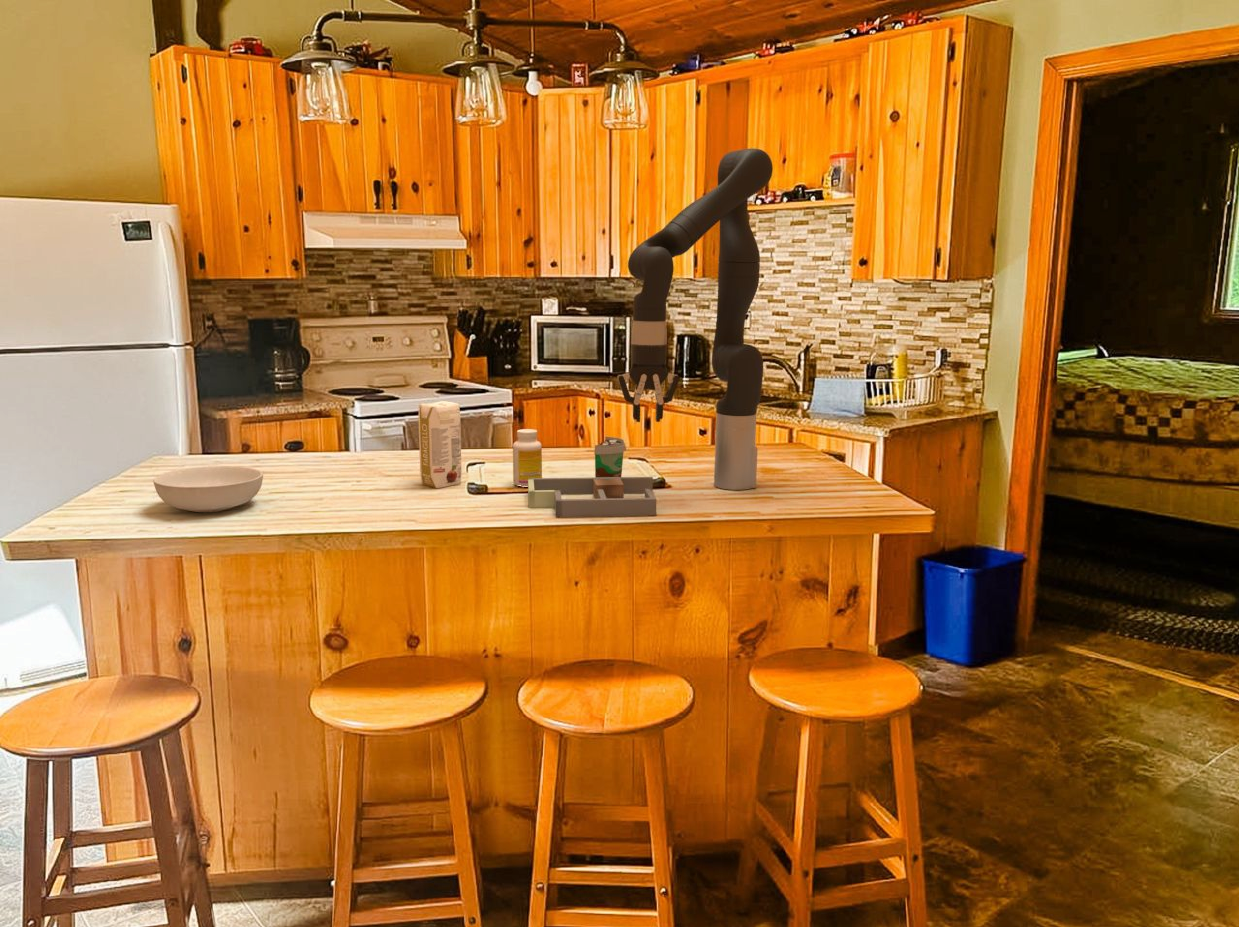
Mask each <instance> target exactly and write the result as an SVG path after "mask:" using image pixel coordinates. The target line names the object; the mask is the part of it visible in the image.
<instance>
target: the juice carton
mask: <svg viewBox="0 0 1239 927" xmlns="http://www.w3.org/2000/svg"><path fill="white" fill-rule="evenodd" d="M460 410H461V409H460V403H457V402H452V401H445V400H440V401H436V402H432V403H427V402H426V403H418V416H417V417H418V439H419V440H418V443H419V445H418V446H419V474H420V481H421V484H422V485H424V486H428V487H431V488H435V489H441V488H447V487H450V486H457V485H460V484H461V483H462V440H461V439H462V437H461V435H462V434H461V433H462V432H461V411H460Z"/></svg>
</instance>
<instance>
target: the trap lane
mask: <svg viewBox="0 0 1239 927" xmlns="http://www.w3.org/2000/svg"><path fill="white" fill-rule="evenodd" d="M593 479H621V481H622V483H623V484H624V494H644V497H632V498H631V497H627V498H625V497H624V498H610V499H607V498H606V496H605V493H604V491H603V489H598V490H597V499H594V498H562V495H587V494H588V495H593ZM653 480H654V478H653V476H621V477H595V476H594V477H591V476H590V477H542V478H528V488H527V493H528V494H527V495H528V497H527V498H528V508H529V509H548V508H553V509H554V512H555V517H556V518H592V517H593V518H598V517H599V518H601V517H602V518H605V517H606V518H607V517H608V518H611V517H648V516H647V515H656V516H657V503H658V502H657V501H658V500H657V499H658V498H656V496H655V494H654V493H653V488H654V486H653V485H654V481H653Z"/></svg>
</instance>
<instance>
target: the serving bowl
mask: <svg viewBox="0 0 1239 927" xmlns="http://www.w3.org/2000/svg"><path fill="white" fill-rule="evenodd" d="M263 479H264V473H263V472H262V471H261V470H260V469H256V468H253V467H248V466H237V465H235V466H233V465H214V466H213V465H211V466H209V465H208V466H195V467H188V468H183V469H177V470H170V471H167V472H165V473H162V474H158V475H157V476H156V477H154V478H153V485H154V488H155V491H156V494H157V496H158V497H159V498H160V499H161V500H162V501H163V502H164V503H165V504H167V505H168V506H171V507H172V508H176V509H179V510H185V511H189V512H192V513H193V512H194V513H195V512H196V513H215V512H222V511H223V512H224V511H227V510H229V509H232V508H235V507H238V506H240V505H244V504H245V503H247V502H249V501H251V500H252V499H254V498H255V497H256V496H257V494H258V493H259V492H260V490H261V487H262V485H263Z"/></svg>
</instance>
